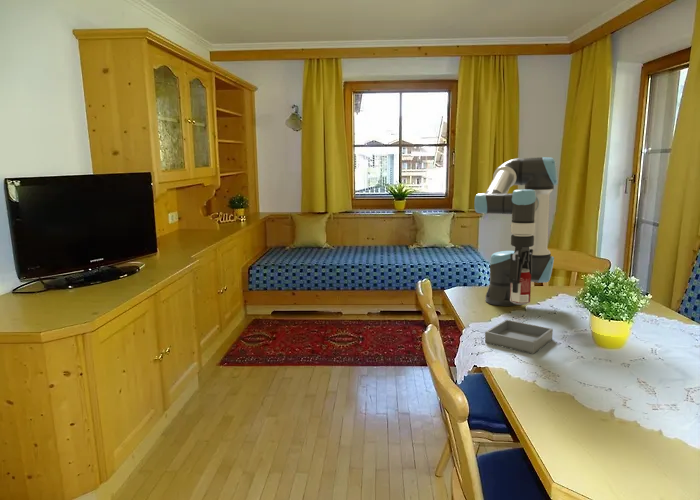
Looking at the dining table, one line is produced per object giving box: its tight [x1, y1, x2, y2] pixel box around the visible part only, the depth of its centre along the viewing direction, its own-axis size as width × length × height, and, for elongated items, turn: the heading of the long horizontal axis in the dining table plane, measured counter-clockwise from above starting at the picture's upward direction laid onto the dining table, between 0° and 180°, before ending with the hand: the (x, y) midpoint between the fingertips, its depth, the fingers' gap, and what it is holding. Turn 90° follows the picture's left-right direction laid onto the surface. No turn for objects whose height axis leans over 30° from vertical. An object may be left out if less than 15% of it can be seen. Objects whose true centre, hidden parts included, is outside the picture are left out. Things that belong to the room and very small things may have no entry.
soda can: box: [510, 268, 532, 306], centre depth 171 cm, size 7×7×12 cm
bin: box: [484, 319, 554, 355], centre depth 174 cm, size 17×17×4 cm
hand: (520, 298), depth 172 cm, fingers closed on soda can, 7 cm apart
